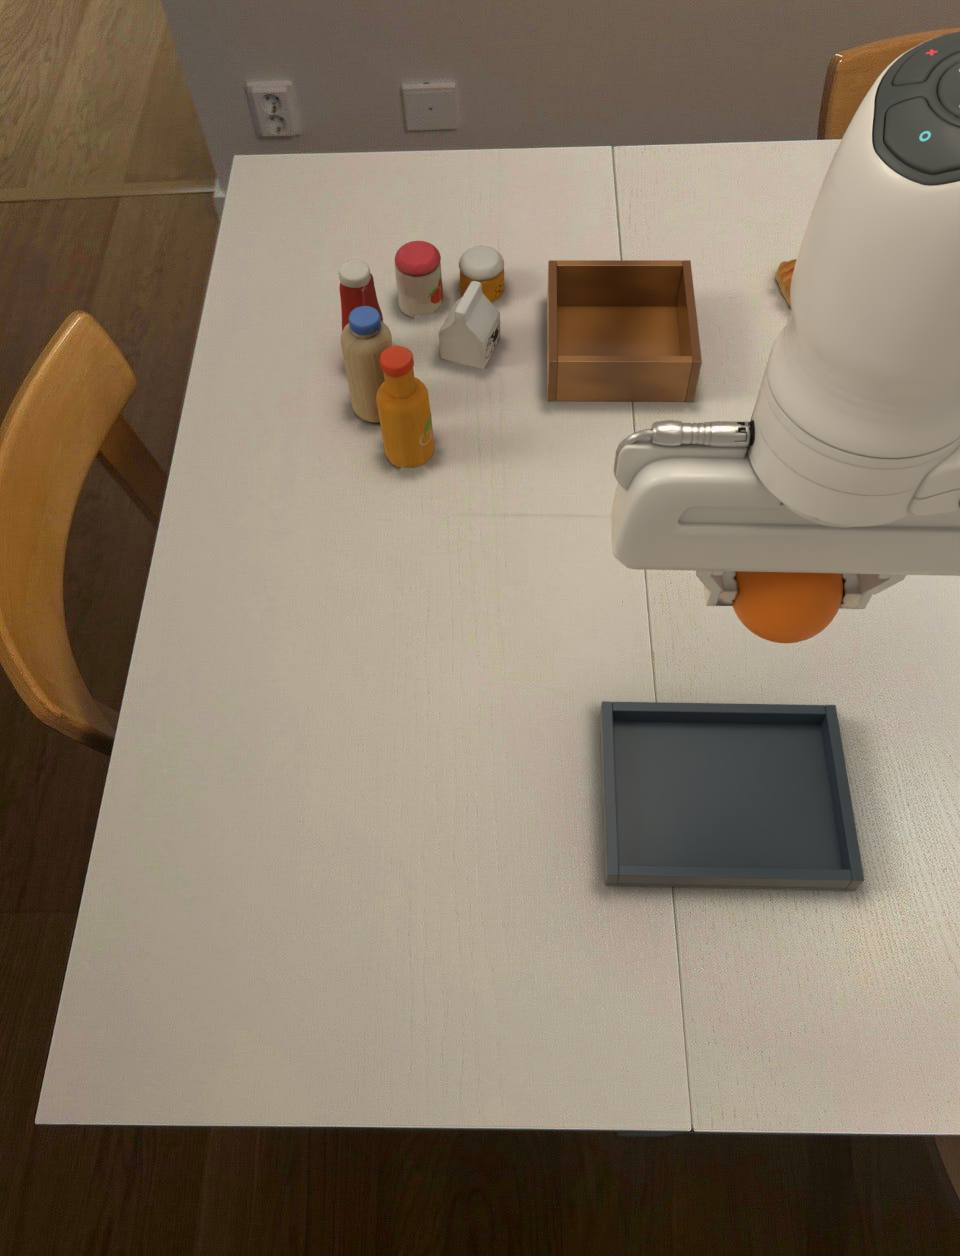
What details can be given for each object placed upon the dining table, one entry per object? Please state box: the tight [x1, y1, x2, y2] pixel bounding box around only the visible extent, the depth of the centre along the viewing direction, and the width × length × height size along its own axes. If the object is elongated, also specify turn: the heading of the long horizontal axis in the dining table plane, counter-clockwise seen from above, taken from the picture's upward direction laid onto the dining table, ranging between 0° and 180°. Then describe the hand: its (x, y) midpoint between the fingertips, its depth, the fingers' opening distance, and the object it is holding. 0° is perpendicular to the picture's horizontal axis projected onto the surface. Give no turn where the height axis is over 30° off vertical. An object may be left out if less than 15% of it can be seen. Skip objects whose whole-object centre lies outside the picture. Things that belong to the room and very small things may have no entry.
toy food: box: [338, 240, 505, 469], centre depth 98 cm, size 27×13×12 cm, turn 158°
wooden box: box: [546, 259, 703, 403], centre depth 101 cm, size 14×14×6 cm
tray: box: [599, 700, 865, 892], centre depth 78 cm, size 18×14×2 cm
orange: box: [732, 571, 843, 644], centre depth 59 cm, size 6×6×6 cm
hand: (783, 597), depth 59 cm, fingers closed on orange, 6 cm apart
